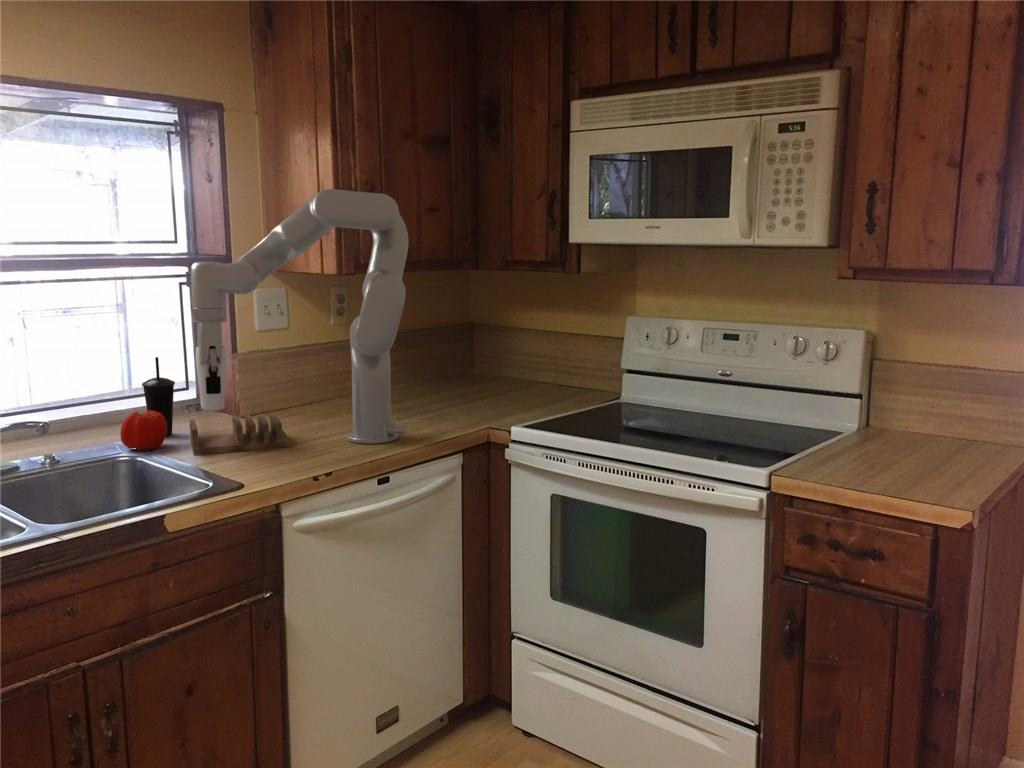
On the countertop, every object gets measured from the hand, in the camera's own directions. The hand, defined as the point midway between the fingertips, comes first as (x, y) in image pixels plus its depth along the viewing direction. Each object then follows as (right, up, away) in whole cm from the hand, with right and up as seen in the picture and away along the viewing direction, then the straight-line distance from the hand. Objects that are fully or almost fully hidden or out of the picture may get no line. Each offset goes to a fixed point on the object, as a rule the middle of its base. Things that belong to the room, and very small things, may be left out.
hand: (212, 390), depth 203 cm
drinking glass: (0, -5, +1) cm, 5 cm away
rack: (+5, -13, +5) cm, 15 cm away
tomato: (-16, -14, +1) cm, 22 cm away
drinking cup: (-17, -12, +13) cm, 25 cm away
